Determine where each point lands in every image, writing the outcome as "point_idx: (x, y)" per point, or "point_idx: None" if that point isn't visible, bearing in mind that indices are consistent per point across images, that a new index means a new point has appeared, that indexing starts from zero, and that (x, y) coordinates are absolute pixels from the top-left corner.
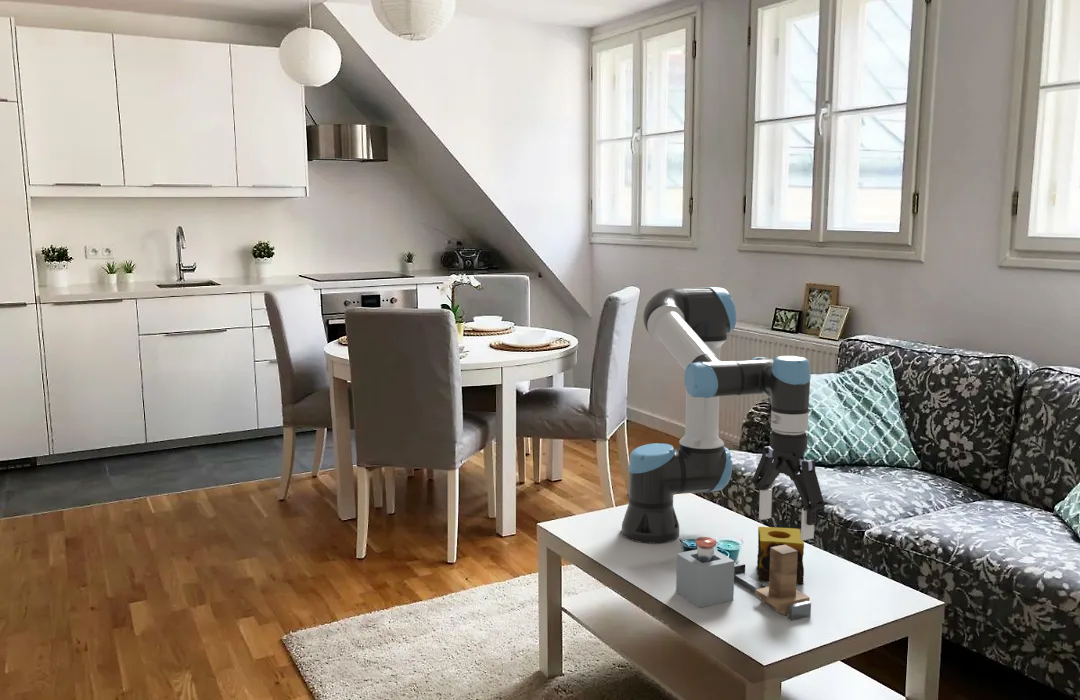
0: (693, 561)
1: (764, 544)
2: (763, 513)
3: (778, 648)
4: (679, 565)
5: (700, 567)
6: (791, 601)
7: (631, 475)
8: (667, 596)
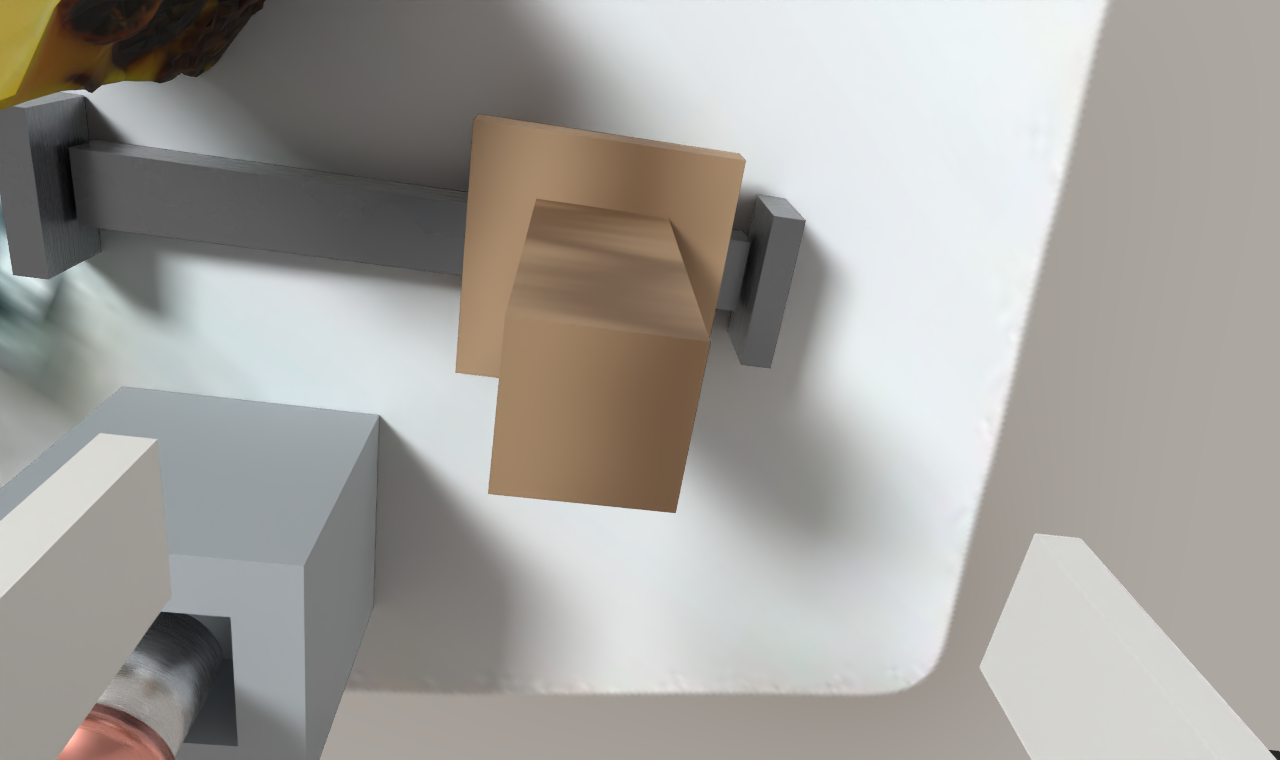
0: None
1: (41, 69)
2: (122, 627)
3: (894, 577)
4: None
5: None
6: (713, 311)
7: None
8: None
